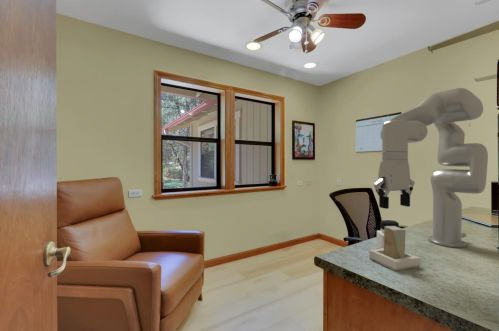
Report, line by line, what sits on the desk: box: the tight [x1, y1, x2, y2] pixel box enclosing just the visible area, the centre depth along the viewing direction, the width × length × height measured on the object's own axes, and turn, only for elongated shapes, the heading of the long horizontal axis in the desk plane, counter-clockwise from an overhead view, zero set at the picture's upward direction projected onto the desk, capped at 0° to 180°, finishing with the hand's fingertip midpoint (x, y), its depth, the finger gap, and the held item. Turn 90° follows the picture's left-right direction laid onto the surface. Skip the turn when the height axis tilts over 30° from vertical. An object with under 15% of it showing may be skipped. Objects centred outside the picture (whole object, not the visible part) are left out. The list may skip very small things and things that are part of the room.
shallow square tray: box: [368, 248, 421, 272], centre depth 82 cm, size 10×10×3 cm
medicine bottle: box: [376, 219, 400, 249], centre depth 93 cm, size 7×7×12 cm
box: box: [384, 226, 406, 259], centre depth 83 cm, size 5×4×11 cm
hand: (394, 206), depth 82 cm, fingers open, 9 cm apart
